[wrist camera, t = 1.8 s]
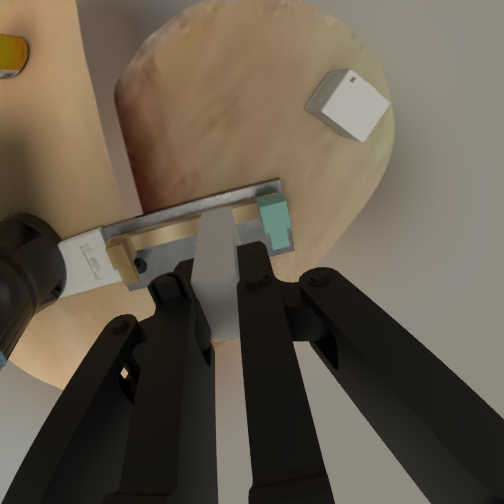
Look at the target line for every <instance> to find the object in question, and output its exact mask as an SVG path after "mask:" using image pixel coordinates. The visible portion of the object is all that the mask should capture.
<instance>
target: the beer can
mask: <svg viewBox="0 0 504 504" xmlns="http://www.w3.org/2000/svg"><path fill="white" fill-rule="evenodd" d="M27 53H28V49H27V44H26V42H25V41H24V39H22V38H21V37H16V36H11V35H5V34H0V79H9V78H12V77H14V76H15V75H16V74H18V73H19V71H20V70H21V69H22V67H23V66H24V64H25V62H26V59H27Z"/></svg>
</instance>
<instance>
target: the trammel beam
mask: <svg viewBox="0 0 504 504" xmlns="http://www.w3.org/2000/svg"><path fill="white" fill-rule="evenodd" d="M278 193H279V192H277V193H273V194H269V195H265V196H261V197H257V198H253V199H249V200H245V201H241V202H237V203H233V204H229V205H225V206H221V207H218V208H214V209H210V210H206V211H203V212H199V213H195V214H191V215H188V216H184V217H181V218H177V219H173V220H170V221H166V222H163V223H159V224H156V225H152V226H149V227H145V228H142V229H139V230H135V231H132V232H128V233H125V234H122V235H118V236H115V237H112V238H109V239H108V241H107V242H106V244H105V246H106V248H105V250H106V253H107V255H108V257H109V259H110V262H111V264H112V266H113V268H114V270H118V271H119V274H120V276H121V278H122V280H123V282H124V284H125V286H128V285H132V284H136V283H139V282H140V279H141V278H140V276H139V274H138V273H139V271H140V268H141V266H140V265H136V267H135V264H134V259H135V257H136V255H137V254H136V251H138V250H141V249H145V248H149V247H152V246H156V245H160V244H163V243H167V242H171V241H174V240H178V239H182V238H185V237H189V236H193V235H197V234H198V232H199V226H200V220H201V214H202V213H205V212H209V211H213V210H217V209H220V208H224V207H228V206H231V209H232V213H233V216H234V220H235V223H236V224H239V223H243V222H247V221H251V220H255V219H259V218H261V217H260V213H259V209H258V204H257V200H256V199H258V198H262V197H266V196H270V195H274V194H278Z"/></svg>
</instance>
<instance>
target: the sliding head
mask: <svg viewBox="0 0 504 504" xmlns="http://www.w3.org/2000/svg"><path fill="white" fill-rule="evenodd" d="M256 200H257V204H258V209H259V213H260V217H261V221H262V225H263V228H264V231H265V234H268V233H269V235H270V239H271V244H272V247H273V250H276V249H280V248H284V247H288V246H290V244H289V239H288V234H287V229H288V228H292V227H291V222H290V217H289V212H288V207H287V202H286V200H285V198H284V197H283V195H282V194H281V193H278V194H274V195H270V196H266V197H262V198H258V199H256Z"/></svg>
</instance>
